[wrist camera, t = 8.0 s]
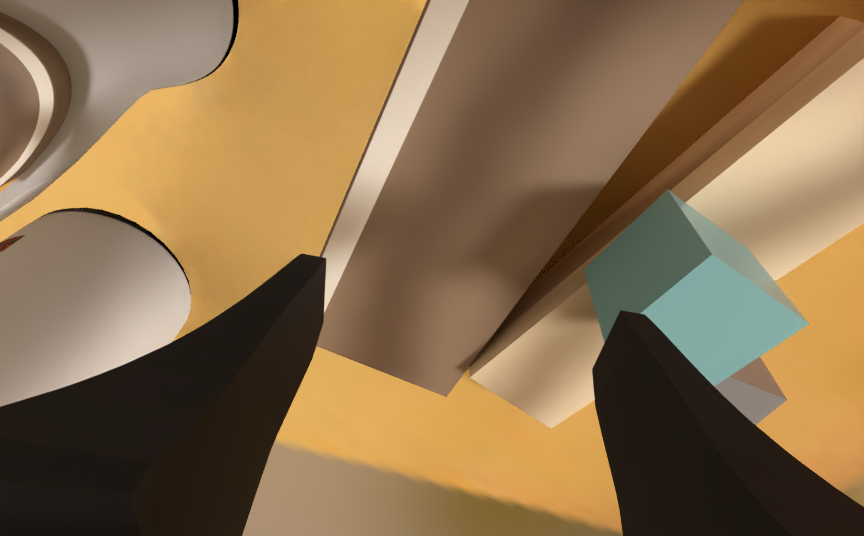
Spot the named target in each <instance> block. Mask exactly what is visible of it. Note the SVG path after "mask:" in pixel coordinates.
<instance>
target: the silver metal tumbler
mask: <svg viewBox="0 0 864 536" xmlns="http://www.w3.org/2000/svg"><path fill="white" fill-rule="evenodd" d="M238 24H239V2H238V0H0V221H2V220H3V219H5V218H6V217H8V216H9V215H11V214H12V213H14V212H15V211H17V210H18V209H20V208H21V207H22V206H24V205H25V204H27V203H28V202H30V201H31V200H33V199H34V198H35V197H37V196H38V195H39V194H40V193H41V192H43V191H44V190H45V189H46V188H47V187H48V186H49V185H51V184H52V183H53V182H54V181H55V180H56V179H58V178H59V177H60V176H61V175H62V174H63V173H64V172H66V171H67V170H68V169H69V168H70V167H71V166H72V165H74V164H75V163H76V162H77V161H78V160H79V159H80V158H81V157H82V156H83V155H84V154H85V153H86V152H87V151H88V150H89V149H90V148H91V147H92V146H93V145H94V144H95V143H96V142H97V141H98V140H99V139H100V138H101V137H102V136H103V135H104V134H105V133H106V132H107V131H108V129H109V128H110V127H111V126H112V125H113V124H114V123H115V122H116V121H117V120H118V119H119V118H120V117H121V116H122V115H123V114H124V113H125V112H126V111H127V110H128V109H129V108H130V107H131V106H132V105H133V104H134V103H135V102H136V101H137V100H138V99H139V98H140V97H142V96H143V95H145V94H146V93H148V92H149V91H151V90H154V89H160V88H168V87H175V86H180V85H185V84H189V83H193V82H196V81H199V80H201V79H203V78H205V77H207V76H209V75H210V74H212V73H213V72H215V71H216V70H217V69H218V68H219V67H220V66H221V65H222V64H223V62H224V61H225V60H226V58H227V57H228V55H229V53H230V51H231V49H232V47H233V45H234V42H235V39H236V35H237V31H238Z"/></svg>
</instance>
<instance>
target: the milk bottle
mask: <svg viewBox="0 0 864 536" xmlns="http://www.w3.org/2000/svg"><path fill="white" fill-rule="evenodd" d="M190 306H191V290H190V284H189V280H188V278H187V276H186V273H185V271H184V268H183V267H182V265H181V264H180V262H179V261H178V259H177V258H176V256H175V255H174V254H173V253H172V252H171V250H170V249H169V248H168V247H167V246H166V245H165V244H164V243H163V242H162V241H161V240H160V239H158V238H157V237H156V236H155V235H154V234H152V233H151V232H150V231H148V230H147V229H145V228H143V227H142V226H140V225H139V224H137V223H136V222H134V221H131V220H129V219H127V218H125V217H123V216H121V215H118V214H114V213H111V212H108V211H105V210H100V209H92V208H68V209H61V210H56V211H52V212H49V213H47V214H45V215H43V216H41V217H40V218H38V219H36V220H35V221H33V222H31V223H30V224H28V225H26V226H25V227H23V228H22V229H20V230H19V231H17V232H16V233H14V234H13V235H11V236H10V237H8V238H7V239H5V240H4V241H2V242H1V243H0V406H4V405H7V404H11V403H14V402H17V401H21V400H24V399H27V398H30V397H34V396H37V395H40V394H43V393H47V392H50V391H53V390H57V389H60V388H62V387H65V386H68V385H71V384H74V383H77V382H80V381H82V380H85V379H88V378H91V377H93V376H96V375H99V374H101V373H104V372H106V371H109V370H111V369H114V368H116V367H119V366H121V365H124V364H126V363H128V362H131V361H133V360H135V359H137V358H139V357H142V356H144V355H146V354H148V353H150V352H152V351H155V350H157V349H159V348H161V347H163V346H165V345H168V344H170V343H171V342H172V341H173V340H174V338H175V337H176V335H177V334H178V332H179V331H180V329H181V328H182V327H183V325H184V323H185V322H186V320H187V318H188V316H189V312H190Z"/></svg>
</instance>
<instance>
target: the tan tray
mask: <svg viewBox="0 0 864 536" xmlns="http://www.w3.org/2000/svg"><path fill="white" fill-rule="evenodd" d="M667 189H668V190H669V191H670V192H672V193H673V194H675V195H676V196H677V197H679V198H680V199H681V200H683V201H684V202H685V203H687V204H688V205H689V206H691V207H692V208H693V209H695V210H696V211H697V212H699V213H700V214H702V215H703V216H704V217H706V218H707V219H708V220H710V221H711V222H712V223H714V224H715V225H716V226H718V227H719V228H720V229H722V230H723V231H725V232H726V233H727V234H729V235H730V236H731V237H733V238H734V239H735V240H737V241H738V242H739V243H741V244H742V245H743V246H745V247H746V248H747V249H749V250H750V251H751V253H752V254H753V255H754V256H755V258H756V259H757V260H758V261H759V263H760V264H761V265H762V266H763V268H764V269H765V270H766V271H767V272H768V274H769V275H770V276H771V277H772V279H773V280H774V281H776V280H778V279H779V278H781V277H782V276H784V275H785V274H787V273H788V272H790V271H791V270H793V269H794V268H796V267H797V266H799V265H800V264H802V263H804V262H805V261H807V260H808V259H810V258H811V257H813V256H814V255H816V254H817V253H819V252H820V251H822V250H823V249H825V248H826V247H828V246H829V245H831V244H832V243H834V242H835V241H837V240H839V239H840V238H842V237H843V236H845V235H846V234H848V233H849V232H851V231H852V230H854V229H855V228H857V227H858V226H860V225H861V224H863V223H864V22H861V21H857V20H853V19H849V18H846V17H842V16H839V17H838V18H837V19H836V20H835V21H834V22H832V23H831V24H830V25H829V26H828V27H827V28H826V29H824V30H823V31H822V32H821V33H820V34H819V35H817V36H816V37H815V38H814V39H813V40H812V41H811V42H809V43H808V44H807V45H806V46H805V47H804V48H803V49H801V50H800V51H799V52H798V53H797V54H796V55H794V56H793V57H792V58H791V59H790V60H789V61H788V62H786V63H785V64H784V65H783V66H782V67H781V68H780V69H778V70H777V71H776V72H775V73H774V74H773V75H771V76H770V77H769V78H768V79H767V80H766V81H765V82H763V83H762V84H761V85H760V86H759V87H758V88H757V89H755V90H754V91H753V92H752V93H751V94H750V95H748V96H747V97H746V98H745V99H744V100H743V101H742V102H740V103H739V104H738V105H737V106H736V107H735V108H734V109H732V110H731V111H730V112H729V113H728V114H727V115H725V116H724V117H723V118H722V119H721V120H720V121H719V122H717V123H716V124H715V125H714V126H713V127H712V128H711V129H709V130H708V131H707V132H706V133H705V134H704V135H702V136H701V137H700V138H699V139H698V140H697V141H696V142H694V143H693V144H692V145H691V146H690V147H689V148H688V149H686V150H685V151H684V152H683V153H682V154H681V155H679V156H678V157H677V158H676V159H675V160H674V161H673V162H671V163H670V164H669V165H668V166H667V167H666V168H665V169H663V170H662V171H661V172H660V173H659V174H658V175H656V176H655V177H654V178H653V179H652V180H651V181H650V182H648V183H647V184H646V185H645V186H644V187H643V188H642V189H640V190H639V191H638V192H637V193H636V194H635V195H633V196H632V197H631V198H630V199H629V200H628V201H627V202H625V203H624V204H623V205H622V206H621V207H620V208H619V209H617V210H616V211H615V212H614V213H613V214H612V215H610V216H609V217H608V218H607V219H606V220H605V221H604V222H602V223H601V224H600V225H599V226H598V227H597V228H596V229H594V230H593V231H592V232H591V233H590V234H589V235H587V236H586V237H585V238H584V239H583V240H582V241H581V242H579V243H578V244H577V245H576V246H575V247H574V248H573V249H571V250H570V251H569V252H568V253H567V254H566V255H564V256H563V257H562V258H561V259H560V260H559V261H558V262H556V263H555V264H554V265H553V266H552V267H551V268H550V269H548V270H547V271H546V272H545V273H544V274H543V275H541V276H540V277H539V278H538V279H537V280H536V281H535V282H533V283H532V284H531V285H530V286H529V287H528V289H527V290H526V291H525V293H524V294H523V295H522V297H521V298H520V299H519V301H518V302H517V303H516V305H515V306H514V307H513V309H512V310H511V311H510V313H509V314H508V315H507V317H506V318H505V319H504V321H503V322H502V323H501V325H500V326H499V327H498V329H497V330H496V331H495V333H494V334H493V335H492V337H491V338H490V339H489V341H488V342H487V343H486V345H485V346H484V347H483V349H482V350H481V351H480V353H479V354H478V355H477V357H476V358H475V359H474V361H473V362H472V363H471V365H470V378H471V379H473V380H474V381H476V382H477V383H479V384H481V385H482V386H484V387H485V388H487V389H489V390H490V391H492V392H493V393H495V394H497V395H498V396H500V397H501V398H503V399H505V400H506V401H508V402H509V403H511V404H513V405H514V406H516V407H518V408H519V409H521V410H522V411H524V412H526V413H527V414H529V415H530V416H532V417H534V418H535V419H537V420H538V421H540V422H542V423H543V424H545V425H546V426H548V427H550V428H553V427H554V426H556V425H557V424H559V423H560V422H562V421H563V420H565V419H566V418H568V417H569V416H571V415H572V414H574V413H575V412H577V411H578V410H580V409H581V408H583V407H585V406H586V405H588V404H589V403H591V402H592V401H594V400H595V397H594V388H593V375H592V368H593V366H594V364H595V362H596V360H597V358H598V356H599V354H600V352H601V350H602V347H603V345H604V339H603V336H602V332H601V329H600V325H599V322H598V318H597V315H596V311H595V308H594V305H593V301H592V298H591V294H590V291H589V287H588V284H587V280H586V277H585V273H584V270H583V269H584V268H585V267H586V266H587V265H588V264H590V263H591V262H592V261H593V260H594V259H595V258H596V257H597V256H598V255H599V254H600V253H601V252H602V251H603V250H604V249H605V248H606V247H607V246H608V245H609V244H611V243H612V242H613V241H614V240H615V239H616V238H617V237H618V236H619V235H620V234H621V233H622V232H623V231H624V230H625V229H626V228H627V227H628V226H629V225H630V224H632V223H633V222H634V221H635V220H636V219H637V218H638V217H639V216H640V215H641V214H642V213H643V212H644V211H645V210H646V209H647V208H648V207H649V206H650V205H651V204H652V203H654V202H655V201H656V200H657V199H658V198H659V197H660V196H661V195H662V194H663V193H664V192H665V191H666V190H667Z"/></svg>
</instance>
